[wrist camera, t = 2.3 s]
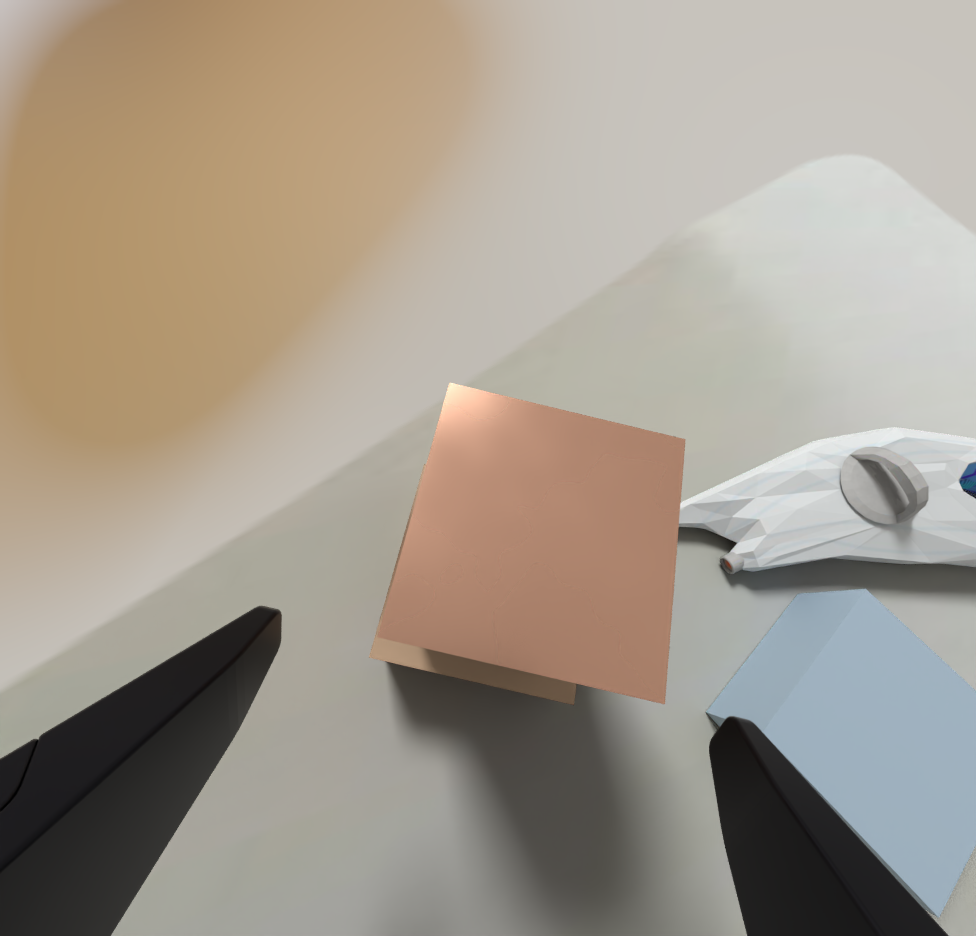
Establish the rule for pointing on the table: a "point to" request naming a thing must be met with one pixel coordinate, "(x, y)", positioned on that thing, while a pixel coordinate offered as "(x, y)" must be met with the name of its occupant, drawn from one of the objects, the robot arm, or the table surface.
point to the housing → (543, 545)
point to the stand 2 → (870, 731)
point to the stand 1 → (467, 661)
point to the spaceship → (849, 503)
